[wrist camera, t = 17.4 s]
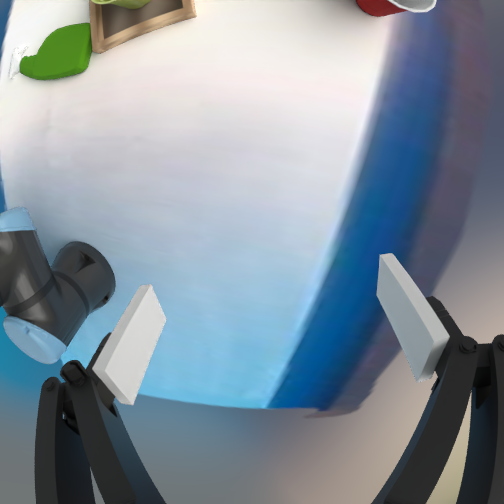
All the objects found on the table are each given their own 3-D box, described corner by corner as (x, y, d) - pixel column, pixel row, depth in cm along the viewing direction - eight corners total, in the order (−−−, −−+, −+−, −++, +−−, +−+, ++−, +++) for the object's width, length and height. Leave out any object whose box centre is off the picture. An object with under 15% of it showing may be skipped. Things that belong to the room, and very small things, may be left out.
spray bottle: (87, 76, 32) (11, 88, 31) (102, 21, 27) (21, 43, 26) (78, 75, 30) (2, 89, 29) (93, 17, 25) (12, 42, 23)
